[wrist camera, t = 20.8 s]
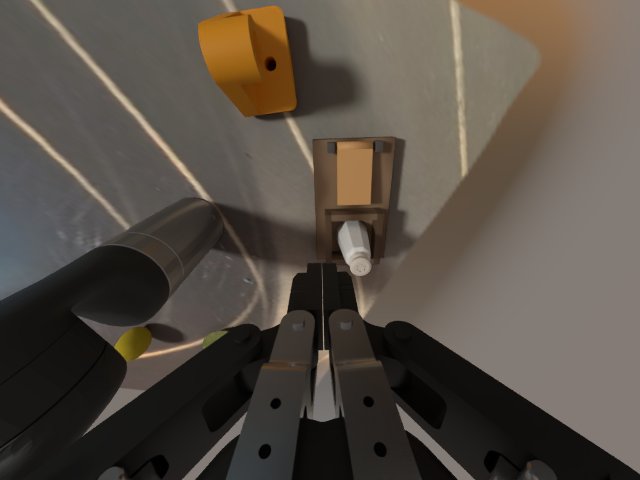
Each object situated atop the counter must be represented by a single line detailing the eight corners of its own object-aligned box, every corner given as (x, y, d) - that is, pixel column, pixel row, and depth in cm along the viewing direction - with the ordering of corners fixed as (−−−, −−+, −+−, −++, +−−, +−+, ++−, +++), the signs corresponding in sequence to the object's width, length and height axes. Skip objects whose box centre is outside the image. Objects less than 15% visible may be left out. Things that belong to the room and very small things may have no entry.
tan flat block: (337, 203, 38) (337, 205, 37) (336, 142, 35) (337, 141, 34) (368, 202, 38) (370, 204, 37) (371, 141, 35) (373, 140, 34)
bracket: (298, 110, 35) (289, 105, 24) (249, 116, 35) (219, 115, 25) (284, 13, 30) (265, -46, 20) (228, 22, 31) (179, -31, 20)
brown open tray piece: (317, 253, 46) (317, 268, 41) (312, 139, 37) (311, 141, 32) (381, 251, 45) (388, 266, 41) (392, 136, 37) (402, 138, 32)
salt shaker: (360, 213, 40) (373, 243, 30) (371, 240, 42) (387, 276, 32) (330, 225, 41) (333, 259, 31) (342, 251, 43) (349, 290, 33)
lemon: (155, 340, 56) (131, 372, 49) (131, 331, 54) (102, 363, 47) (162, 325, 54) (137, 356, 46) (136, 315, 52) (107, 346, 45)
